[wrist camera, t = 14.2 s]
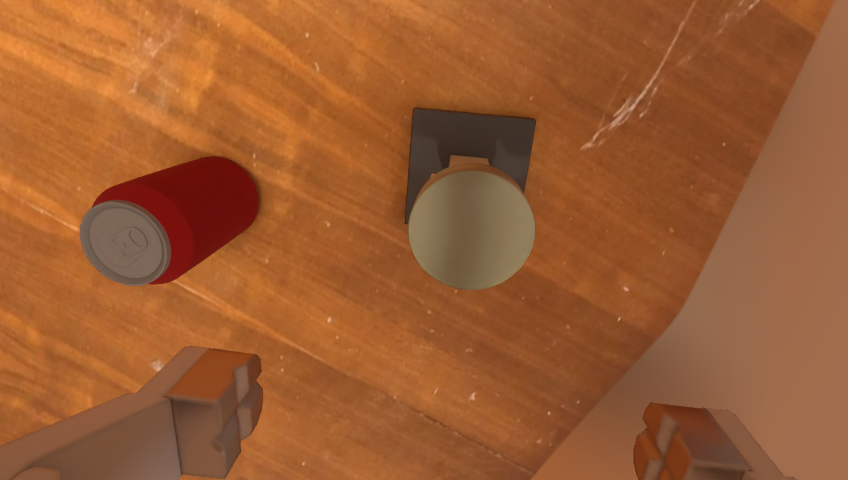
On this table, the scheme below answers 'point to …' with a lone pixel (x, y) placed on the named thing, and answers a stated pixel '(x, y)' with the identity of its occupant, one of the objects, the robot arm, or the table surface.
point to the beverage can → (167, 220)
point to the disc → (471, 226)
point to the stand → (466, 145)
